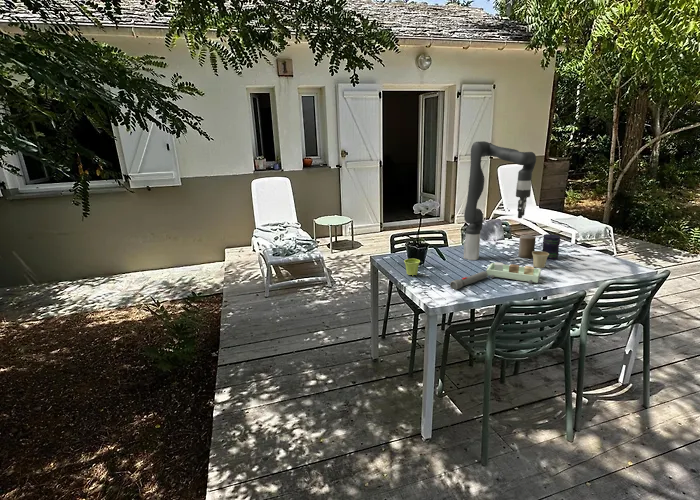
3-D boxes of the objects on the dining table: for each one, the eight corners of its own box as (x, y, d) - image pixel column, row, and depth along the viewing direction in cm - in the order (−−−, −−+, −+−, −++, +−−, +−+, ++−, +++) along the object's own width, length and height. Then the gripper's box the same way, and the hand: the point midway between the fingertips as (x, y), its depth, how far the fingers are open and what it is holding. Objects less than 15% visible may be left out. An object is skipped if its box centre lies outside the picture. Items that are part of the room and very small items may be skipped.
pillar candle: (536, 258, 252) (538, 236, 249) (521, 258, 253) (523, 236, 249) (530, 254, 262) (532, 233, 258) (515, 254, 262) (517, 233, 258)
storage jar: (544, 254, 259) (546, 233, 255) (560, 257, 253) (562, 235, 249) (538, 258, 253) (541, 236, 249) (554, 261, 246) (557, 238, 242)
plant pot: (410, 278, 223) (410, 264, 221) (400, 273, 232) (400, 260, 229) (423, 275, 228) (423, 261, 225) (413, 271, 236) (413, 257, 233)
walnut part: (508, 274, 220) (509, 266, 218) (510, 272, 223) (510, 264, 222) (517, 275, 217) (517, 267, 216) (518, 273, 221) (519, 265, 220)
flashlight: (489, 279, 219) (489, 271, 217) (456, 291, 203) (457, 282, 202) (481, 277, 223) (482, 269, 221) (449, 288, 207) (449, 280, 206)
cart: (485, 277, 221) (485, 270, 220) (491, 269, 234) (492, 262, 233) (537, 285, 207) (537, 277, 206) (540, 275, 221) (541, 268, 220)
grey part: (494, 272, 223) (494, 264, 222) (494, 270, 227) (495, 262, 226) (502, 273, 222) (503, 265, 220) (502, 270, 226) (503, 262, 224)
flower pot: (549, 269, 231) (551, 255, 229) (532, 268, 233) (534, 255, 231) (545, 264, 240) (546, 251, 238) (529, 264, 242) (530, 250, 240)
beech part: (523, 276, 216) (524, 268, 214) (524, 274, 219) (525, 265, 218) (532, 277, 213) (533, 269, 212) (533, 275, 217) (534, 266, 216)
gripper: (518, 186, 224) (515, 214, 229) (514, 189, 213) (511, 218, 217) (532, 187, 220) (529, 215, 225) (529, 190, 209) (526, 219, 213)
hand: (520, 216), depth 221 cm, fingers open, 8 cm apart
